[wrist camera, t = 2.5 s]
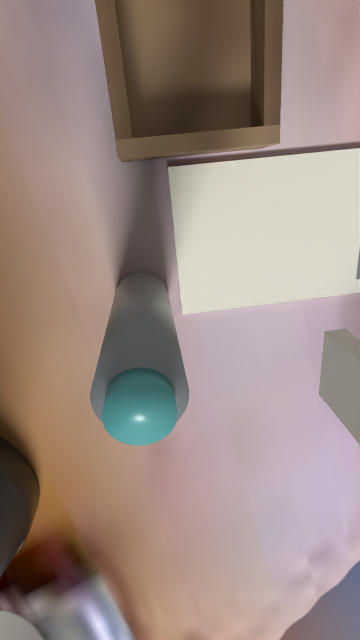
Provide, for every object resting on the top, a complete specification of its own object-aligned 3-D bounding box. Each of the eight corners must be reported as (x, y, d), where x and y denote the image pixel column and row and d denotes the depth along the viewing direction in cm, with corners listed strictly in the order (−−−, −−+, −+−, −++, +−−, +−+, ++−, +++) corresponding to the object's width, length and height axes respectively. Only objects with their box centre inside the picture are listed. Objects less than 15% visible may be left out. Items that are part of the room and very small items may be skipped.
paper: (181, 313, 22) (182, 314, 22) (167, 167, 19) (168, 166, 18) (379, 288, 23) (382, 289, 23) (401, 144, 19) (405, 143, 19)
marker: (120, 323, 22) (96, 463, 11) (111, 274, 21) (74, 378, 10) (170, 317, 22) (196, 448, 11) (164, 268, 21) (188, 363, 10)
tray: (122, 161, 18) (118, 158, 16) (94, -29, 15) (84, -70, 13) (261, 148, 19) (279, 143, 16) (262, -40, 16) (285, -82, 13)
